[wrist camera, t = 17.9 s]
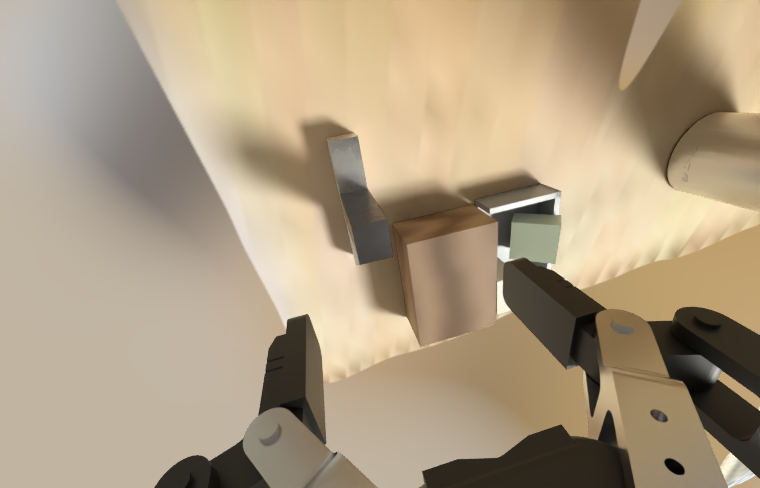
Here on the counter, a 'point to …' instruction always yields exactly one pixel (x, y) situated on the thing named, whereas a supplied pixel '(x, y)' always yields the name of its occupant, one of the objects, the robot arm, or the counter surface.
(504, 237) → the grey tray
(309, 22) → the counter surface
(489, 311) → the walnut riser
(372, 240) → the grey l-shaped bracket
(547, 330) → the robot arm
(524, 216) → the sage tile
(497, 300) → the cream tile
